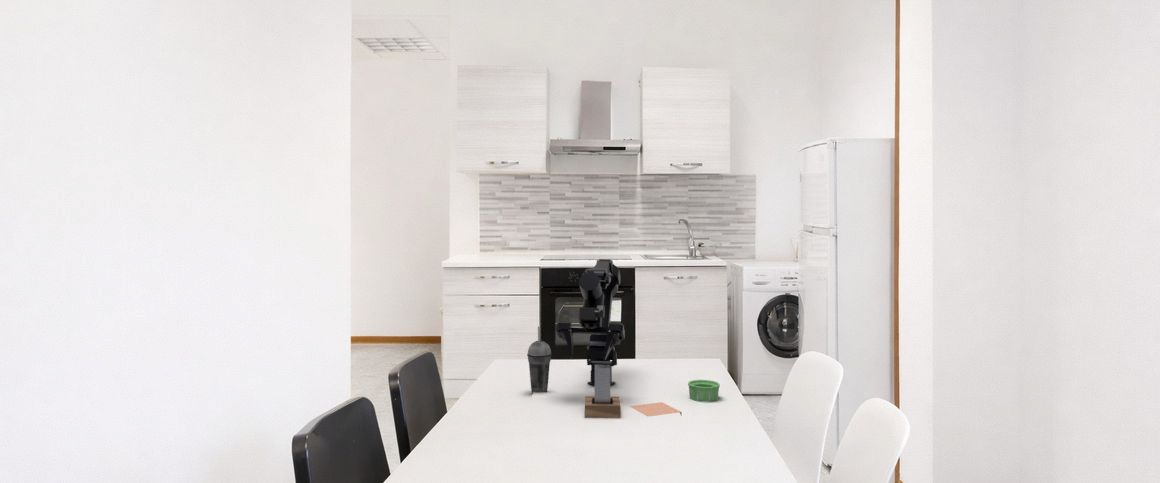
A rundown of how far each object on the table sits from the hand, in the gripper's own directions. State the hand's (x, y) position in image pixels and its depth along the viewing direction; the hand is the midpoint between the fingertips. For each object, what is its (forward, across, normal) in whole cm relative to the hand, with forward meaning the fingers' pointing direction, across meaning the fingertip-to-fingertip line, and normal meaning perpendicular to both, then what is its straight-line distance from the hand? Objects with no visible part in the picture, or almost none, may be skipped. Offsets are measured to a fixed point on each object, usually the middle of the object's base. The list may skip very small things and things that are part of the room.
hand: (587, 359), depth 169 cm
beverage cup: (+4, -16, +17) cm, 24 cm away
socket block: (+15, +5, +2) cm, 16 cm away
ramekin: (+2, +31, +21) cm, 37 cm away
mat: (+12, +18, +6) cm, 23 cm away
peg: (+14, +5, +1) cm, 15 cm away
